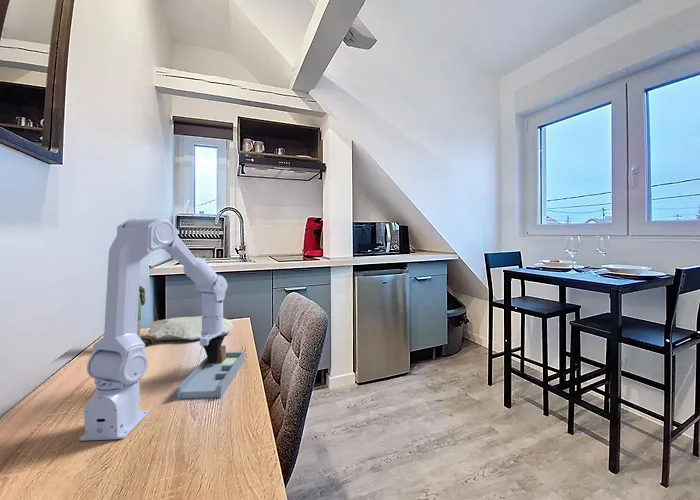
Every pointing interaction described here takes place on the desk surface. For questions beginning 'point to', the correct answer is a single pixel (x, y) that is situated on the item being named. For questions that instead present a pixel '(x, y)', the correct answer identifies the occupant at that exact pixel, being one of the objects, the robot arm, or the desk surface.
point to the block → (221, 355)
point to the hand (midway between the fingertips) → (213, 362)
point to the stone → (181, 328)
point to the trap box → (211, 378)
